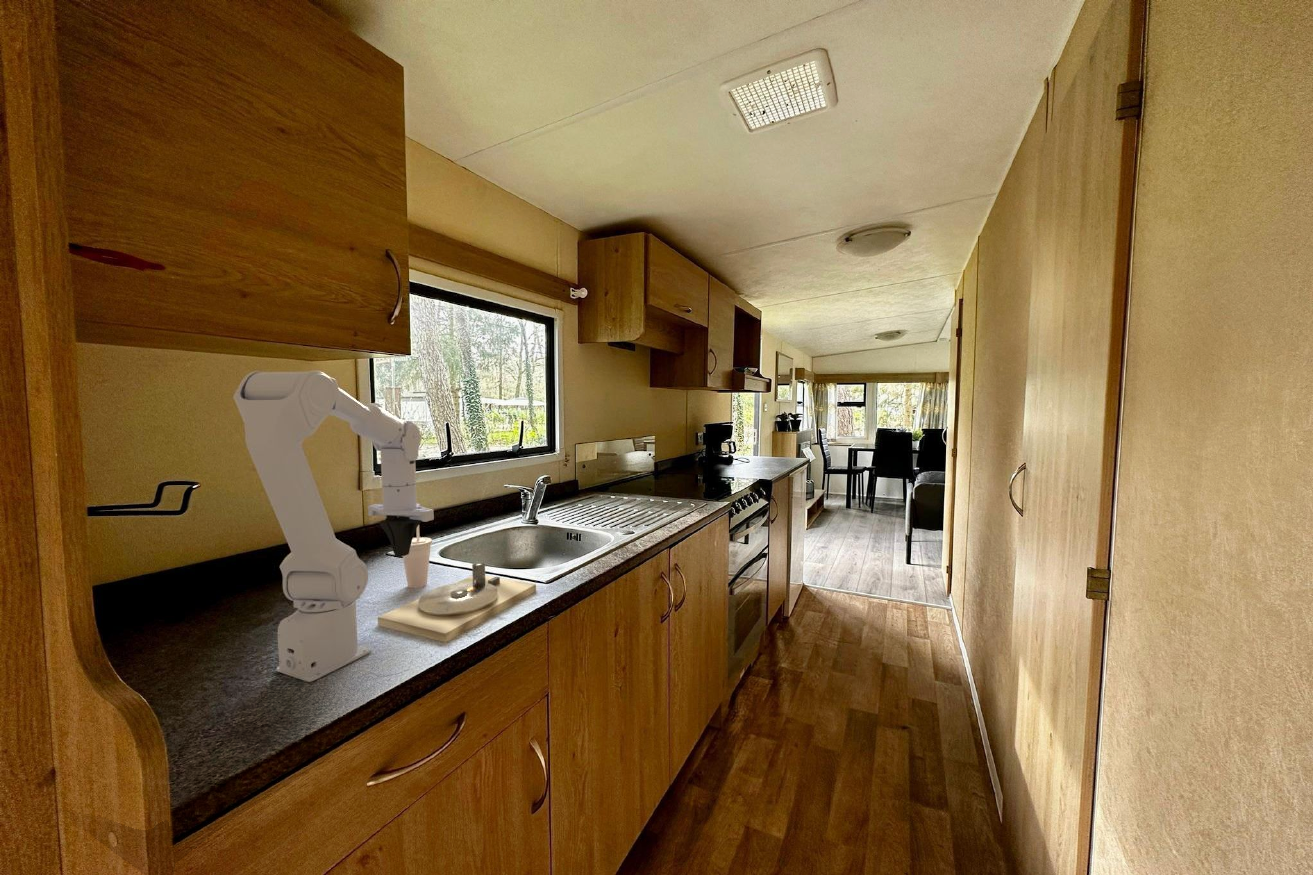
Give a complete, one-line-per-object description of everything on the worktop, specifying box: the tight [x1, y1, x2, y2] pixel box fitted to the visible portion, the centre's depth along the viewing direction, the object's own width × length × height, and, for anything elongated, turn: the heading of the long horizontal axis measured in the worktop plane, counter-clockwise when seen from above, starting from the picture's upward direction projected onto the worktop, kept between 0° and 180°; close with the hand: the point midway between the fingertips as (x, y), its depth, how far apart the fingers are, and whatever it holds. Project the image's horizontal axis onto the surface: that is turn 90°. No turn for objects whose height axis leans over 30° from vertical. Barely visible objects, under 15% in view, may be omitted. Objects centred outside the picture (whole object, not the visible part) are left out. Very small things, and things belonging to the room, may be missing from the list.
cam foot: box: [418, 561, 498, 616], centre depth 94 cm, size 14×14×5 cm
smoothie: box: [402, 524, 433, 589], centre depth 106 cm, size 6×6×14 cm
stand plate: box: [377, 575, 537, 643], centre depth 95 cm, size 24×16×3 cm, turn 157°
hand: (402, 555), depth 94 cm, fingers closed
